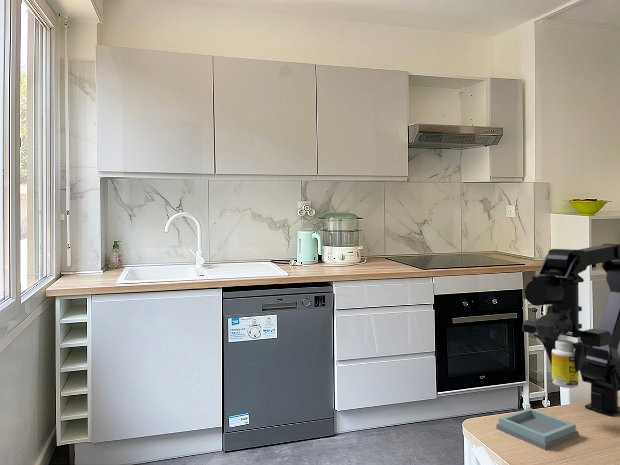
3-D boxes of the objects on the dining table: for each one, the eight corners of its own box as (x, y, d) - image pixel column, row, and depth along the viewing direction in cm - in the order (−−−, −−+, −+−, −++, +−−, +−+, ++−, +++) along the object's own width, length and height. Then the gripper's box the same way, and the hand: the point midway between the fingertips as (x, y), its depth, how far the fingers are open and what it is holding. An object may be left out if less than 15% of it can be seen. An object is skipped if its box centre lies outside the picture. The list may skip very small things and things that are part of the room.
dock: (529, 417, 114) (529, 407, 114) (578, 436, 103) (578, 424, 103) (496, 428, 108) (496, 417, 108) (545, 449, 97) (545, 437, 97)
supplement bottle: (570, 390, 107) (570, 345, 107) (547, 384, 112) (546, 341, 112) (583, 385, 110) (582, 342, 110) (559, 379, 115) (559, 337, 115)
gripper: (508, 300, 115) (508, 363, 115) (585, 311, 98) (585, 385, 99) (536, 296, 120) (536, 356, 120) (613, 306, 104) (614, 376, 104)
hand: (565, 367), depth 111 cm, fingers closed on supplement bottle, 5 cm apart
